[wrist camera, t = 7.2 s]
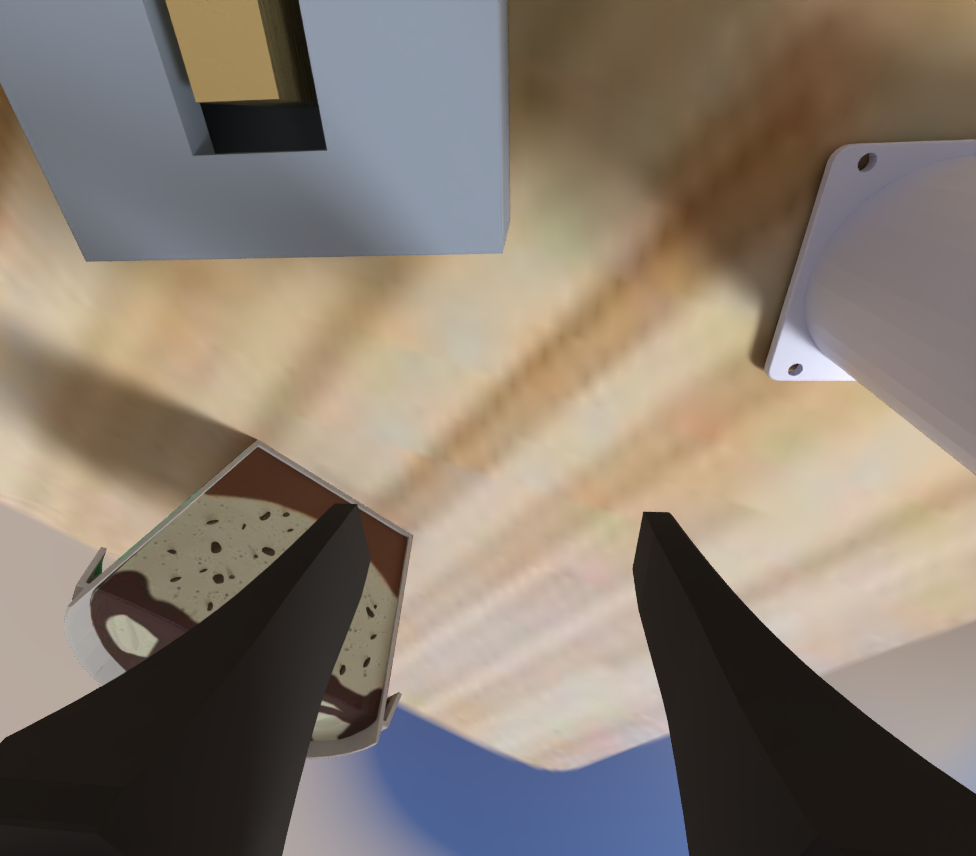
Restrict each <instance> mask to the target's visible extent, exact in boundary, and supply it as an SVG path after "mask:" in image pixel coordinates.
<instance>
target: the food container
mask: <svg viewBox="0 0 976 856" xmlns="http://www.w3.org/2000/svg"><path fill="white" fill-rule="evenodd" d="M335 503H341V504H358V508H359V512H360V516H361V521H362V525H363V529H364V533H365V537H366V541H367V545H368V549H369V553H370V557H371V561H370V565H369V569H368V574H367V578H366V582H365V586H364V589H363V593H362V597H361V599H360V602H359V605H358V607H357V610H356V613H355V615H354V618H353V620H352V623H351V626H350V628H349V631H348V633H347V636H346V638H345V641H344V643H343V646H342V649H341V651H340V654H339V656H338V659H337V661H336V664H335V666H334V669H333V671H332V674H331V677H330V679H329V682H328V685H327V688H326V690H325V693H324V696H323V699H322V703H321V706H320V709H319V713H318V716H317V720H316V723H315V727H314V730H313V734H312V737H311V741H310V745H309V748H308V752H307V756H306V759H320V758H332V757H338V756H343V755H349V754H352V753H355V752H358V751H361V750H365V749H367V748H369V747H371V746H373V745H376V744H377V743H378V740H379V736H380V733H381V731H382V730H384V729H386V728H388V726H389V723H390V721H391V719H392V716H393V714H394V711H395V709H396V707H397V704H398V702H399V700H400V697H401V695H402V694H401V693H399V692H398V693H396V694H394V695H392V696H390V697H389V698H387V694H388V688H389V682H390V676H391V669H392V663H393V657H394V651H395V645H396V638H397V632H398V626H399V620H400V614H401V608H402V601H403V595H404V589H405V583H406V577H407V570H408V564H409V558H410V552H411V546H412V539H413V535H411V534H410V533H408V532H406V531H405V530H403V529H402V528H400V527H398V526H397V525H395V524H393V523H392V522H390V521H389V520H387V519H385V518H384V517H382V516H380V515H379V514H377V513H376V512H374V511H372V510H371V509H369V508H367V507H366V506H364V505H363V504H361V503H359V502H358V501H356V500H355V499H353V498H351V497H350V496H348V495H346V494H345V493H343V492H342V491H340V490H338V489H337V488H335V487H333V486H332V485H330V484H329V483H327V482H325V481H324V480H322V479H320V478H319V477H317V476H316V475H314V474H312V473H311V472H309V471H307V470H306V469H304V468H303V467H301V466H299V465H298V464H296V463H294V462H293V461H291V460H290V459H288V458H286V457H285V456H283V455H282V454H280V453H278V452H277V451H275V450H273V449H272V448H270V447H269V446H267V445H265V444H264V443H262V442H260V441H259V440H256V441H255V442H254V443H253V444H251V445H250V446H249V447H248V448H247V449H246V450H245V451H243V452H242V453H241V454H240V455H239V456H238V457H236V458H235V459H234V460H233V461H232V462H231V463H229V464H228V465H227V466H226V467H225V468H224V469H222V470H221V471H220V472H219V473H218V474H217V475H215V476H214V477H213V478H212V479H211V480H210V481H208V482H207V483H206V484H205V485H204V486H203V487H202V488H200V489H199V490H198V491H197V492H196V493H195V494H193V495H192V496H191V497H190V498H189V499H188V500H186V501H185V502H184V503H183V504H182V505H181V506H179V507H178V508H177V509H176V510H175V511H174V512H172V513H171V514H170V515H169V516H168V517H167V518H166V519H164V520H163V521H162V522H161V523H160V524H159V525H157V526H156V527H155V528H154V529H153V530H152V531H150V532H149V533H148V534H147V535H146V536H145V537H143V538H142V539H141V540H140V541H139V542H138V543H136V544H135V545H134V546H133V547H132V548H131V549H129V550H128V551H127V552H126V553H125V554H124V555H123V556H121V557H120V558H119V559H118V560H117V561H116V562H114V563H113V564H112V565H111V566H110V567H109V568H107V569H106V570H105V571H104V572H103V573H102V561H103V558H104V555H105V552H106V549H107V548H102V547H101V548H100V550H99V551H98V553H97V554H96V556H95V557H94V559H93V560H92V562H91V563H90V565H89V566H88V568H87V569H86V571H85V573H84V574H83V576H82V577H81V579H80V580H79V582H78V583H77V585H76V588H75V591H74V595H73V598H72V602H71V603H70V604H69V605H68V608H67V611H66V615H65V619H64V623H65V635H66V638H67V641H68V644H69V647H70V649H71V651H72V652H73V654H74V656H75V657H76V659H77V661H78V662H79V664H80V665H81V666H82V667H83V668H84V670H85V671H86V672H87V673H88V674H89V675H90V677H91V678H92V679H93V680H95V681H96V682H97V683H98V684H99V685H100V686H103V685H105V684H106V683H108V682H110V681H111V680H113V679H115V678H116V677H118V676H120V675H121V674H123V673H125V672H126V671H128V670H130V669H131V668H133V667H134V666H136V665H138V664H139V663H141V662H143V661H144V660H146V659H147V658H149V657H150V656H152V655H153V654H155V653H156V652H158V651H159V650H161V649H162V648H164V647H165V646H167V645H168V644H170V643H171V642H173V641H174V640H176V639H177V638H179V637H180V636H181V635H183V634H184V633H186V632H187V631H189V630H190V629H192V628H193V627H194V626H196V625H197V624H199V623H200V622H201V621H203V620H204V619H205V618H207V617H208V616H209V615H211V614H212V613H213V612H215V611H216V610H217V609H219V608H220V607H221V606H222V605H224V604H225V603H226V602H227V601H229V600H230V599H231V598H232V597H234V596H235V595H236V594H237V593H239V592H240V591H241V590H242V589H243V588H244V587H246V586H247V585H248V584H249V583H250V582H251V581H252V580H254V579H255V578H256V577H257V576H258V575H259V574H261V573H262V572H263V571H264V570H265V569H266V568H267V567H269V566H270V565H271V564H272V563H273V562H274V561H275V560H276V559H277V558H278V557H279V556H280V555H281V554H282V553H284V552H285V551H286V550H287V549H288V548H289V547H290V546H291V545H292V544H293V543H294V542H295V541H296V540H297V539H298V538H299V537H300V536H301V535H302V534H303V533H304V532H305V531H307V530H308V529H309V528H310V527H311V526H312V525H313V524H314V523H315V522H316V521H317V520H318V519H319V518H320V517H321V516H322V515H323V514H324V513H325V512H326V511H327V510H328V509H329V508H330V507H331V506H332V505H333V504H335Z"/></svg>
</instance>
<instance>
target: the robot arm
mask: <svg viewBox="0 0 976 856" xmlns="http://www.w3.org/2000/svg"><path fill="white" fill-rule="evenodd" d="M867 153H868V155H869V156H870V157H869V162H868V164H867V166H866V167H865V168H863V169H862V170H860V171H859V169H858V162H859V160H860V159H861V157H863V156H864V155H865V154H867ZM797 363H798V366H797V368H796V369H794V370H793V371H789V372H788V369H789V368H790V366H792V365H793V364H797ZM764 371H765V373H766V374H767V376H768V377H769V378H771V379H772V380H776V381H857V382H859V383H860V384H861V385H862V386H864V387H865V388H866V389H868V390H869V391H870V392H871V393H873V394H874V395H875V396H876V397H878V398H879V399H880V400H881V401H883V402H884V403H885V404H886V405H888V406H889V407H890V408H891V409H893V410H894V411H895V412H897V413H898V414H899V415H900V416H902V417H903V418H904V419H905V420H907V421H908V422H909V423H910V424H912V425H913V426H914V427H915V428H917V429H918V430H919V431H920V432H922V433H923V434H924V435H926V436H927V437H928V438H929V439H931V440H932V441H933V442H934V443H936V444H937V445H938V446H939V447H941V448H942V449H943V450H944V451H946V452H947V453H948V454H949V455H951V456H952V457H953V458H955V459H956V460H957V461H958V462H960V463H961V464H962V465H963V466H965V467H966V468H967V469H968V470H970V471H971V472H972V473H973V474H975V475H976V139H965V140H938V141H911V142H884V143H857V144H847V145H843V146H841V147H840V148H838V149H836V150H835V151H834V152H833V154H832V155H831V156H830V158H829V160H828V162H827V165H826V168H825V171H824V174H823V178H822V181H821V184H820V187H819V191H818V194H817V197H816V200H815V204H814V207H813V210H812V213H811V217H810V220H809V223H808V226H807V230H806V233H805V236H804V239H803V243H802V246H801V249H800V253H799V256H798V259H797V262H796V266H795V269H794V272H793V275H792V279H791V282H790V285H789V288H788V292H787V295H786V298H785V301H784V305H783V308H782V311H781V314H780V318H779V321H778V324H777V327H776V331H775V334H774V337H773V340H772V344H771V347H770V350H769V353H768V357H767V360H766V363H765V368H764ZM370 561H371V557H370V553H369V549H368V545H367V541H366V537H365V533H364V529H363V525H362V521H361V516H360V512H359V508H358V504H341V503H335V504H333V505H332V506H331V507H330V508H329V509H328V510H327V511H326V512H325V513H324V514H323V515H322V516H321V517H320V518H319V519H318V520H317V521H316V522H315V523H314V524H313V525H312V526H311V527H310V528H309V529H308V530H307V531H305V532H304V533H303V534H302V535H301V536H300V537H299V538H298V539H297V540H296V541H295V542H294V543H293V544H292V545H291V546H290V547H289V548H288V549H287V550H286V551H285V552H284V553H282V554H281V555H280V556H279V557H278V558H277V559H276V560H275V561H274V562H273V563H272V564H271V565H270V566H269V567H267V568H266V569H265V570H264V571H263V572H262V573H261V574H259V575H258V576H257V577H256V578H255V579H254V580H252V581H251V582H250V583H249V584H248V585H247V586H246V587H244V588H243V589H242V590H241V591H240V592H239V593H237V594H236V595H235V596H234V597H232V598H231V599H230V600H229V601H227V602H226V603H225V604H224V605H222V606H221V607H220V608H219V609H217V610H216V611H215V612H213V613H212V614H211V615H209V616H208V617H207V618H205V619H204V620H203V621H201V622H200V623H199V624H197V625H196V626H194V627H193V628H192V629H190V630H189V631H187V632H186V633H184V634H183V635H181V636H180V637H179V638H177V639H176V640H174V641H173V642H171V643H170V644H168V645H167V646H165V647H164V648H162V649H161V650H159V651H158V652H156V653H155V654H153V655H152V656H150V657H149V658H147V659H146V660H144V661H143V662H141V663H139V664H138V665H136V666H134V667H133V668H131V669H130V670H128V671H126V672H125V673H123V674H121V675H120V676H118V677H116V678H115V679H113V680H111V681H110V682H108V683H106V684H105V685H103V686H101V687H99V688H98V689H96V690H94V691H93V692H91V693H89V694H87V695H85V696H84V697H82V698H80V699H79V700H77V701H75V702H73V703H71V704H69V705H67V706H65V707H64V708H62V709H60V710H58V711H56V712H54V713H52V714H50V715H48V716H46V717H45V718H43V719H41V720H39V721H37V722H35V723H33V724H32V725H29V726H27V727H26V728H24V729H22V730H20V731H18V732H16V733H14V734H12V735H10V736H8V737H6V738H5V739H4V740H3V741H2V742H1V743H0V856H282V854H283V849H284V844H285V840H286V836H287V831H288V827H289V823H290V819H291V815H292V811H293V807H294V803H295V798H296V794H297V790H298V786H299V782H300V778H301V775H302V771H303V767H304V763H305V760H306V756H307V752H308V748H309V745H310V741H311V737H312V734H313V730H314V727H315V723H316V720H317V716H318V713H319V709H320V706H321V703H322V699H323V696H324V693H325V690H326V688H327V685H328V682H329V679H330V677H331V674H332V671H333V669H334V666H335V664H336V661H337V659H338V656H339V654H340V651H341V649H342V646H343V643H344V641H345V638H346V636H347V633H348V631H349V628H350V626H351V623H352V620H353V618H354V615H355V613H356V610H357V607H358V605H359V602H360V599H361V597H362V593H363V589H364V586H365V582H366V578H367V574H368V569H369V565H370ZM633 576H634V583H635V590H636V597H637V603H638V609H639V613H640V617H641V621H642V624H643V628H644V632H645V636H646V640H647V643H648V647H649V651H650V654H651V658H652V662H653V665H654V669H655V673H656V677H657V680H658V684H659V688H660V691H661V695H662V699H663V703H664V707H665V711H666V716H667V720H668V725H669V731H670V737H671V743H672V748H673V754H674V759H675V766H676V771H677V778H678V784H679V790H680V796H681V803H682V809H683V815H684V822H685V829H686V836H687V843H688V850H689V856H976V794H975V793H973V792H972V791H970V790H969V789H968V788H966V787H965V786H963V785H961V784H960V783H959V782H957V781H956V780H955V779H953V778H951V777H950V776H949V775H947V774H946V773H944V772H943V771H941V770H940V769H938V768H937V767H935V766H934V765H932V764H931V763H930V762H928V761H927V760H926V759H924V758H923V757H921V756H920V755H919V754H917V753H916V752H915V751H913V750H912V749H911V748H909V747H908V746H907V745H905V744H904V743H903V742H901V741H900V740H898V739H897V738H896V737H894V736H893V735H892V734H890V733H889V732H888V731H886V730H885V729H884V728H882V727H881V726H880V725H878V724H877V723H876V722H875V721H873V720H872V719H871V718H869V717H868V716H867V715H866V714H864V713H863V712H862V711H861V710H860V709H858V708H857V707H856V706H855V705H853V704H852V703H851V702H850V701H849V700H847V699H846V698H845V697H844V696H843V695H841V694H840V693H839V692H838V691H836V690H835V689H834V688H833V687H832V686H830V685H829V684H828V683H826V681H824V680H823V679H822V678H821V677H820V676H818V675H817V674H816V673H815V672H814V671H813V670H812V669H810V668H809V667H808V666H807V665H806V664H805V663H804V662H803V661H802V660H800V659H799V658H798V657H797V656H796V655H795V654H794V653H793V652H792V651H791V650H790V649H789V648H788V647H787V646H786V645H784V644H783V643H782V642H781V641H780V640H779V639H778V638H777V637H776V636H775V635H774V634H773V633H772V632H771V631H770V630H769V629H768V628H767V627H766V626H765V625H764V624H763V623H762V622H761V621H760V620H759V619H758V618H757V616H756V615H755V614H754V613H753V612H752V611H751V610H750V609H749V608H748V607H747V606H746V605H745V604H744V603H743V602H742V600H741V599H740V598H739V597H738V596H737V595H736V594H735V593H734V592H733V590H732V589H731V588H730V587H729V586H728V585H727V583H726V582H725V581H724V580H723V579H722V578H721V576H720V575H719V574H718V573H717V572H716V571H715V569H714V568H713V567H712V566H711V565H710V563H709V562H708V561H707V560H706V559H705V557H704V556H703V555H702V554H701V552H700V551H699V550H698V548H697V547H696V546H695V545H694V543H693V542H692V541H691V540H690V538H689V537H688V536H687V534H686V533H685V532H684V530H683V529H682V528H681V526H680V525H679V524H678V522H677V521H676V520H675V518H674V517H673V516H672V515H671V514H670V513H669V512H643V517H642V522H641V527H640V532H639V538H638V543H637V548H636V553H635V559H634V564H633Z"/></svg>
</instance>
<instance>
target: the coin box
mask: <svg viewBox="0 0 976 856" xmlns="http://www.w3.org/2000/svg"><path fill="white" fill-rule="evenodd" d="M299 4H300V10H301V15H302V20H303V26H304V31H305V36H306V41H307V47H308V52H309V57H310V62H311V68H312V73H313V78H314V83H315V89H316V94H317V99H318V105H319V107H311V108H276V107H260V106H245V105H229V104H214V103H198V102H196V101H195V97H194V94H193V91H192V87H191V84H190V81H189V77H188V74H187V71H186V67H185V64H184V61H183V57H182V54H181V51H180V47H179V44H178V41H177V37H176V34H175V31H174V28H173V24H172V21H171V18H170V14H169V11H168V8H167V4H166V1H165V0H0V84H1V86H2V88H3V90H4V92H5V94H6V96H7V98H8V100H9V102H10V104H11V106H12V109H13V111H14V113H15V115H16V117H17V119H18V121H19V123H20V125H21V127H22V129H23V131H24V133H25V136H26V138H27V140H28V142H29V144H30V146H31V148H32V150H33V152H34V154H35V156H36V158H37V161H38V163H39V165H40V167H41V169H42V171H43V173H44V175H45V177H46V179H47V181H48V183H49V186H50V188H51V190H52V192H53V194H54V196H55V198H56V200H57V202H58V204H59V206H60V208H61V211H62V213H63V215H64V217H65V219H66V221H67V223H68V225H69V227H70V229H71V231H72V233H73V235H74V238H75V240H76V242H77V244H78V246H79V248H80V250H81V252H82V254H83V256H84V258H85V260H86V262H87V261H139V260H190V259H241V258H293V257H344V256H396V255H447V254H499V253H503V249H504V245H505V241H506V236H507V232H508V228H509V223H510V166H509V67H508V0H299Z"/></svg>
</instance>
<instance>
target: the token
mask: <svg viewBox="0 0 976 856" xmlns="http://www.w3.org/2000/svg"><path fill="white" fill-rule="evenodd" d="M165 1H166V4H167V8H168V11H169V14H170V18H171V21H172V24H173V28H174V31H175V34H176V37H177V41H178V44H179V47H180V51H181V54H182V57H183V61H184V64H185V67H186V71H187V74H188V77H189V81H190V84H191V87H192V91H193V94H194V97H195V101H196V102H198V103H214V104H229V105H245V106H260V107H276V108H311V107H319V105H318V99H317V94H316V89H315V83H314V78H313V73H312V68H311V62H310V57H309V52H308V47H307V41H306V36H305V31H304V26H303V20H302V15H301V10H300V4H299V0H165Z"/></svg>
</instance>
